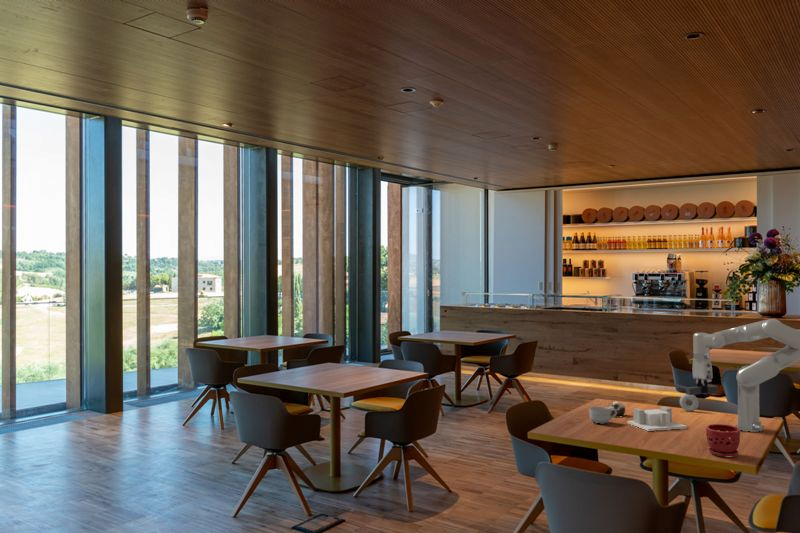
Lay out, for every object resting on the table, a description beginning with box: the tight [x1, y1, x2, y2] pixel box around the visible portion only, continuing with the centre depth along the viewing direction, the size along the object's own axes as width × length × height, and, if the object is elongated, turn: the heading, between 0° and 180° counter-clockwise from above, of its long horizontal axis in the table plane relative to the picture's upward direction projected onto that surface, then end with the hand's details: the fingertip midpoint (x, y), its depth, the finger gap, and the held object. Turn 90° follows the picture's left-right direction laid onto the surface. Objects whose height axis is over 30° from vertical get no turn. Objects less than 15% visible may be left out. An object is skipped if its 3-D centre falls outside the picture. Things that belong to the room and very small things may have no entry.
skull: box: [608, 401, 626, 418], centre depth 361 cm, size 12×10×10 cm
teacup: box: [588, 406, 617, 425], centre depth 343 cm, size 14×11×8 cm
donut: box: [679, 393, 700, 412], centre depth 369 cm, size 10×4×10 cm, turn 60°
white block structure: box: [626, 406, 688, 432], centre depth 334 cm, size 18×22×8 cm
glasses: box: [674, 383, 719, 396], centre depth 342 cm, size 12×17×4 cm
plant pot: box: [705, 423, 741, 457], centre depth 282 cm, size 13×13×12 cm
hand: (702, 392), depth 338 cm, fingers closed on glasses, 2 cm apart
